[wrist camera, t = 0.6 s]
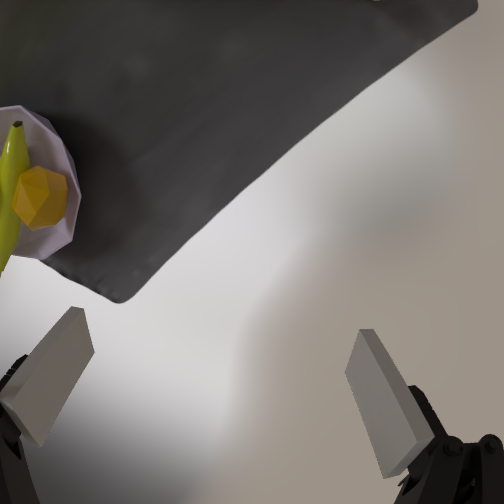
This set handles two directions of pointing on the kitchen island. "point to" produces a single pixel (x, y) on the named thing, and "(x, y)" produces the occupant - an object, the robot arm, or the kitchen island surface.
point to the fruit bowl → (34, 187)
